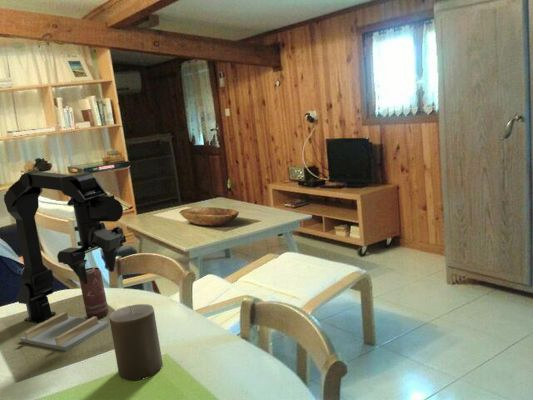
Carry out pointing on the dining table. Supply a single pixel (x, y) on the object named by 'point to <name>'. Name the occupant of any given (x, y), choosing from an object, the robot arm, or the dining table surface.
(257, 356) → the dining table surface
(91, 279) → the can
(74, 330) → the tray
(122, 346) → the pillar candle
